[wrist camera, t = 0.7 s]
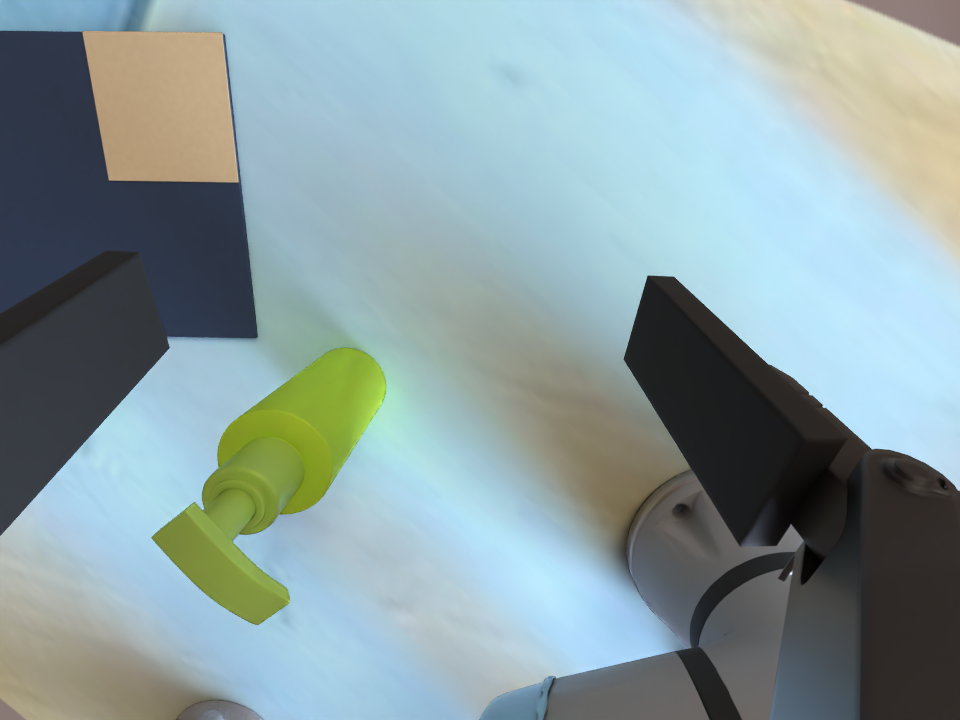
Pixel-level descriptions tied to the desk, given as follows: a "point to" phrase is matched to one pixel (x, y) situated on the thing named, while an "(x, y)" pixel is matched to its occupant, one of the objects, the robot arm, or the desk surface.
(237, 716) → the coffee mug
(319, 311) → the desk surface
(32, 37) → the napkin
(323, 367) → the soap dispenser
